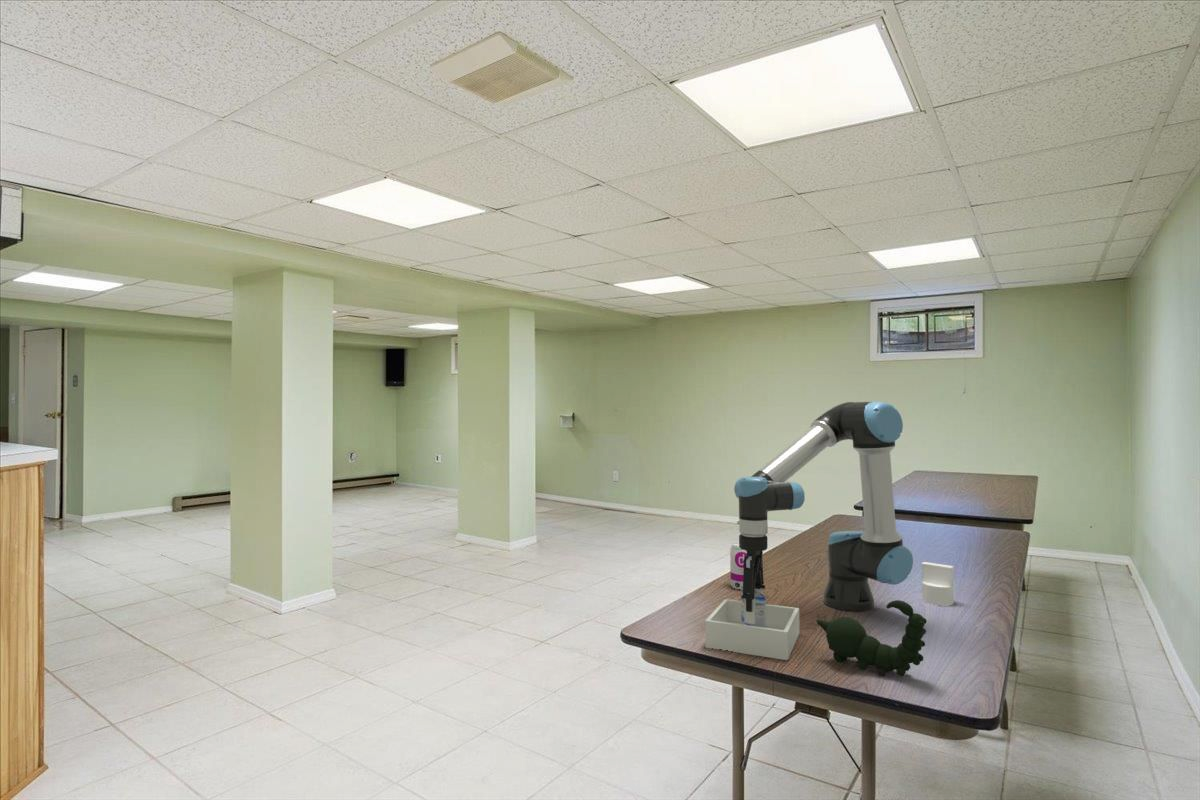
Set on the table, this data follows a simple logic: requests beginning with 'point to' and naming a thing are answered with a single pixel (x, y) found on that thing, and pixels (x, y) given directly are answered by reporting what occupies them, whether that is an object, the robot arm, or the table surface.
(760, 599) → the medicine box
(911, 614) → the toy figurine
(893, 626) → the table surface
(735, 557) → the supplement can
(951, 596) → the cylinder with rectangular tab
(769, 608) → the open bin
